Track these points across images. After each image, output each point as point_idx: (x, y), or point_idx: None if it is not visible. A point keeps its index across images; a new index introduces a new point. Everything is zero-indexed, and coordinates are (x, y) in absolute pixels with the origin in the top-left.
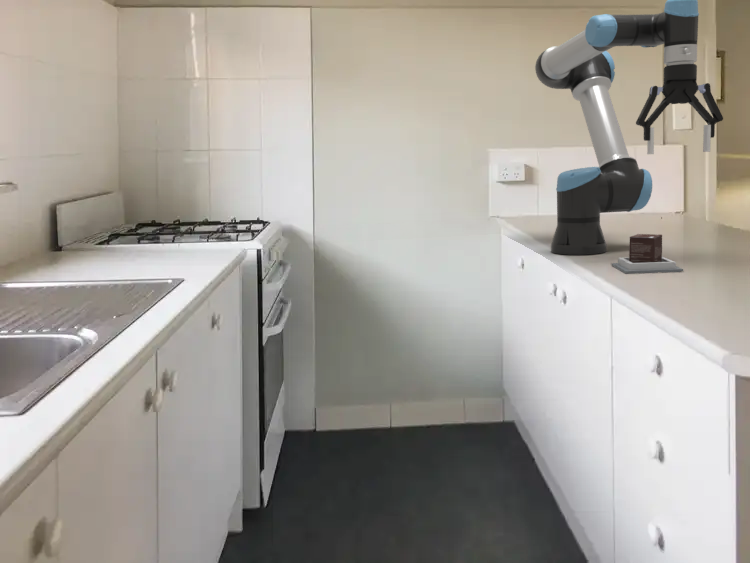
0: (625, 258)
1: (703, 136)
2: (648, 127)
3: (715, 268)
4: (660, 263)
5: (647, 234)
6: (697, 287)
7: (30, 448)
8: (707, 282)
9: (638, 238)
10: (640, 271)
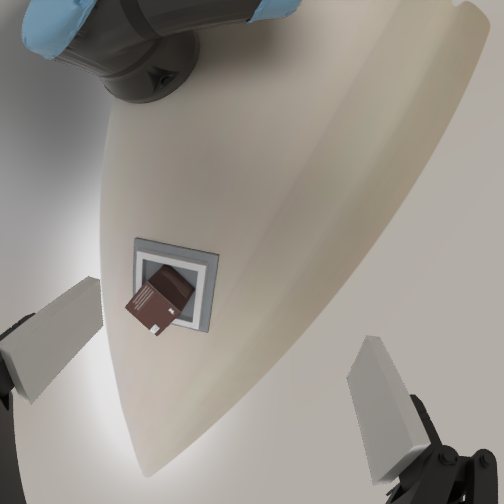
0: (146, 259)
1: (390, 389)
2: (7, 381)
3: (264, 324)
4: (177, 323)
5: (159, 296)
6: (181, 402)
7: None
8: (202, 391)
9: (137, 317)
10: None
